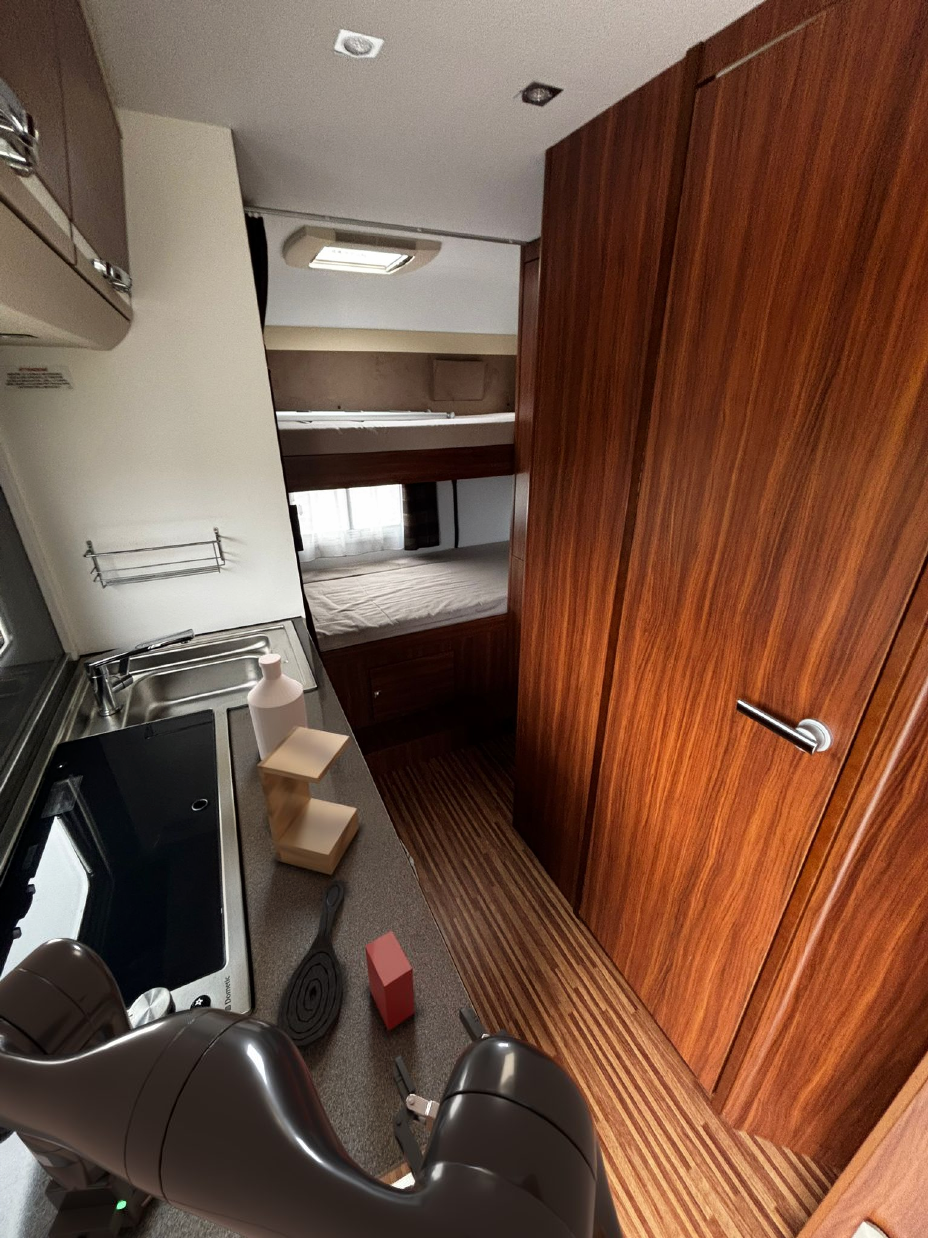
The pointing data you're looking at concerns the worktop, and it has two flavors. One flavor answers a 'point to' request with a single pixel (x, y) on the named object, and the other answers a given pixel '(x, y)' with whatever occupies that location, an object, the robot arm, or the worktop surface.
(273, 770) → the shelf unit
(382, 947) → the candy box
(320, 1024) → the hairbrush
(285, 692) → the bottle
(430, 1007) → the worktop surface
